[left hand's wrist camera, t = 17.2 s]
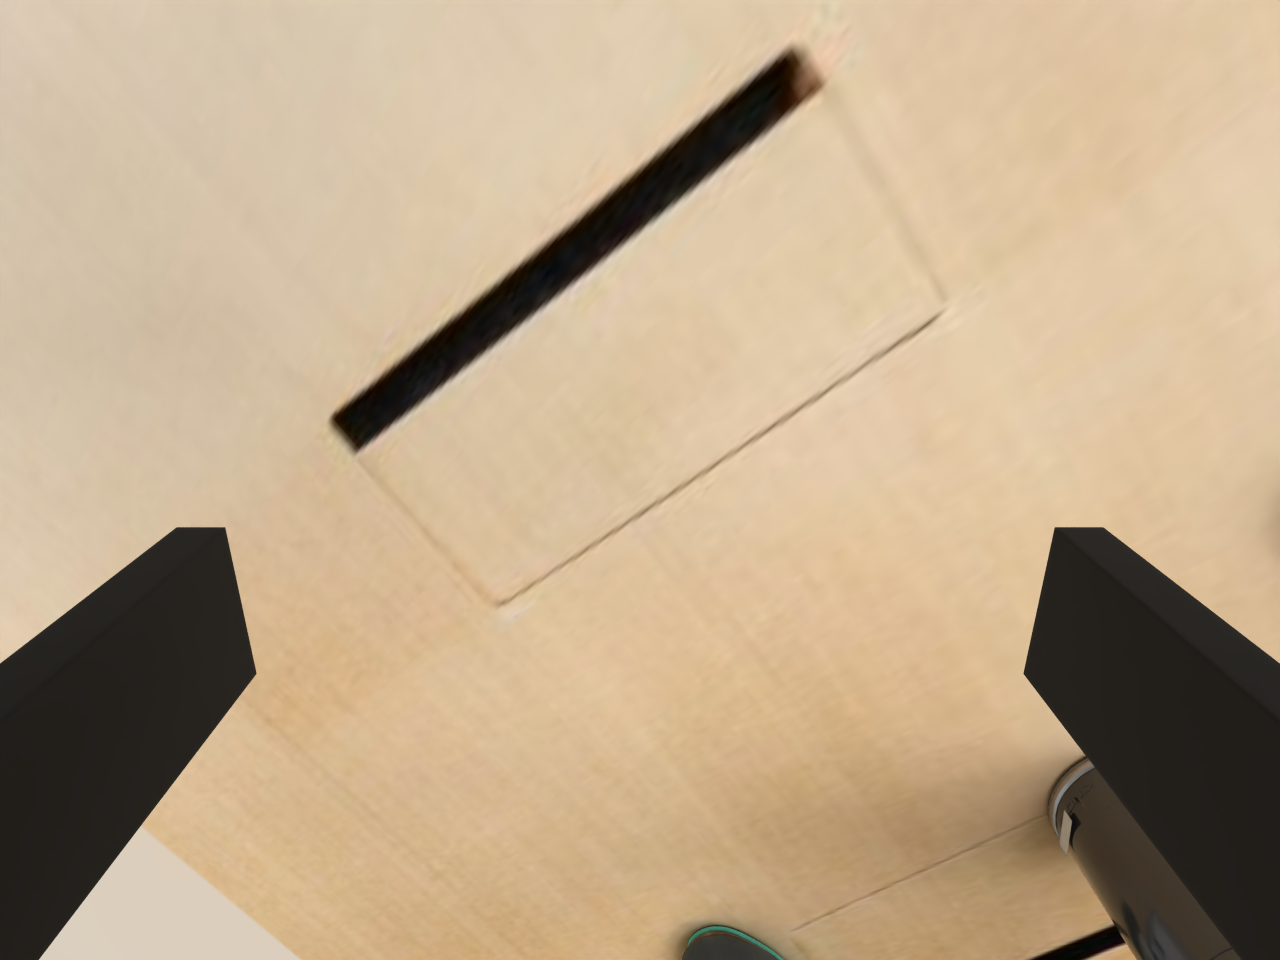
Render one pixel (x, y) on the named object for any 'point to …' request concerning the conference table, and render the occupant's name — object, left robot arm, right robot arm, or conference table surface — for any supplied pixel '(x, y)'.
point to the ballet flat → (726, 946)
